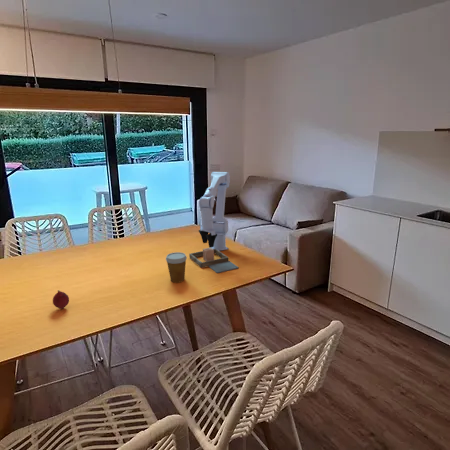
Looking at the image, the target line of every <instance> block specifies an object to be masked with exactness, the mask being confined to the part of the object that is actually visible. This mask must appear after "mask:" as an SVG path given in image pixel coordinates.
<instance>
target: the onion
mask: <svg viewBox="0 0 450 450" xmlns="http://www.w3.org/2000/svg"><path fill="white" fill-rule="evenodd" d="M69 302H70V297H69V295H68V294H67V293H65V292H64V291H62V290H60V289H58V290H57V293H55V295H54V296H53V297H52V305H53V306H54V307H55V308H58V309H61V310H63V309H64V308H66V307H67V306H68V304H69Z"/></svg>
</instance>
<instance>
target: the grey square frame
mask: <svg viewBox="0 0 450 450" xmlns="http://www.w3.org/2000/svg"><path fill="white" fill-rule="evenodd" d="M213 250H214V255H217V256H218V257H219V258H215V259H214V260H211V261H201V260H200V259H198V257H203V250H201V251H197V252H192V253H189V259H190V260H191V261H192V262H193V263H195V264H196V265H197V266H199V267H200V268H201V269H202V268H206V267H208V266H209V265H213V264H218V263H222V262H227V261H229V260H230V259H229V256H227V255H226V254H224V253H223V252H221V251H218V250H217V249H213ZM208 268H209V267H208Z"/></svg>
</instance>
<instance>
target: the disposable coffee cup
mask: <svg viewBox="0 0 450 450" xmlns="http://www.w3.org/2000/svg"><path fill="white" fill-rule="evenodd" d="M187 257H188V256H187V255H186V253H184V252H177V251H175V252H171V253H168V254H167V255H166V257H165V261H166V265H167V269H168V273H169V278H170V282H171V283H181V282H185V277H186V263H187Z"/></svg>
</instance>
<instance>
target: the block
mask: <svg viewBox="0 0 450 450" xmlns="http://www.w3.org/2000/svg"><path fill="white" fill-rule="evenodd" d="M202 251H203V256H202V258H203V259H202V260H203V261H204V262H206V261H211V260H215V254H214V250H213V249H212V248H211V247H207V248H202Z"/></svg>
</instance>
